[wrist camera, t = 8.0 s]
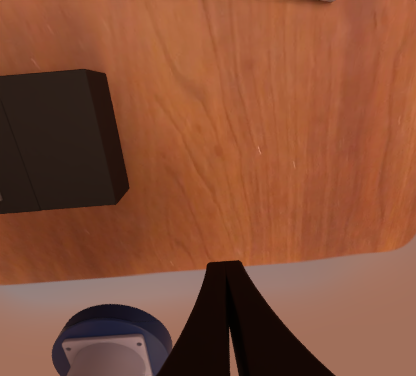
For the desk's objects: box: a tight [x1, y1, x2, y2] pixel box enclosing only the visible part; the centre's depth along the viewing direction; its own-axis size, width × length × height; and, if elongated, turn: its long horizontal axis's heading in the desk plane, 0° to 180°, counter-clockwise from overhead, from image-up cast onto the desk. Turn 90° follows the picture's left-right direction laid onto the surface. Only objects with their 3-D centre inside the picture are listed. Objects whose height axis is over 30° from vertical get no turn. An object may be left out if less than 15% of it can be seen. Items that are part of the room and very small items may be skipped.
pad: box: [0, 69, 129, 210], centre depth 16 cm, size 8×5×3 cm, turn 4°
